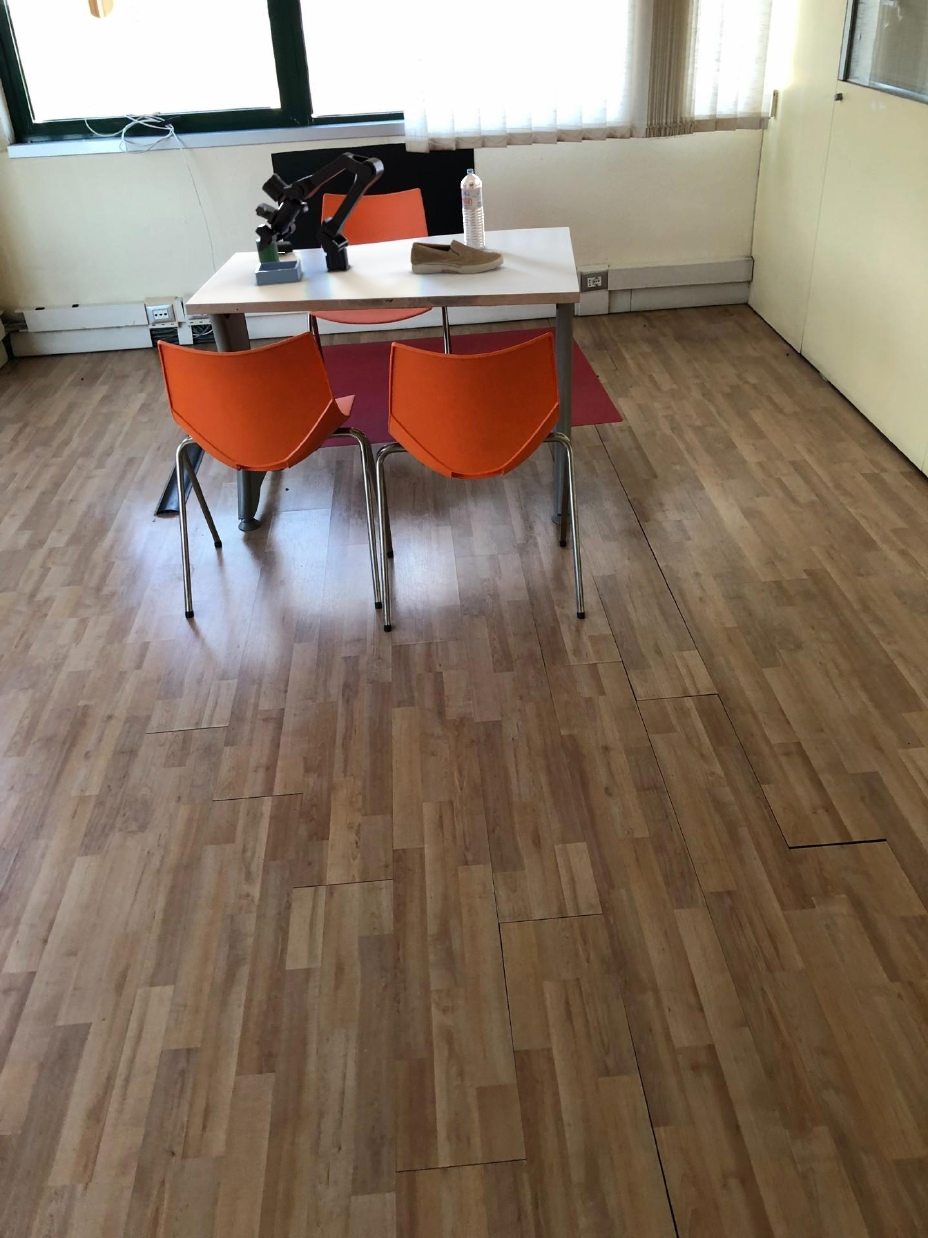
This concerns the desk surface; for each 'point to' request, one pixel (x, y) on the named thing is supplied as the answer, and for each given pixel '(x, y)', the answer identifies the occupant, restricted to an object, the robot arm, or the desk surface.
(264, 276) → the tote
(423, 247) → the slip on shoe
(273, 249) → the bottle
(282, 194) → the robot arm
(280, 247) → the tape measure
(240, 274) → the desk surface
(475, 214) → the water bottle
